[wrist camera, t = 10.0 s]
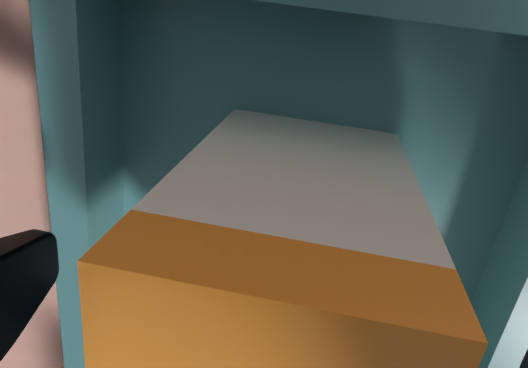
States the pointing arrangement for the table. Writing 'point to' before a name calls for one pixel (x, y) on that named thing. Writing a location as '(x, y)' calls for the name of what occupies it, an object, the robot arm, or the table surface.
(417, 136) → the teal tray
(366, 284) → the block
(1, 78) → the table surface
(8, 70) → the table surface
